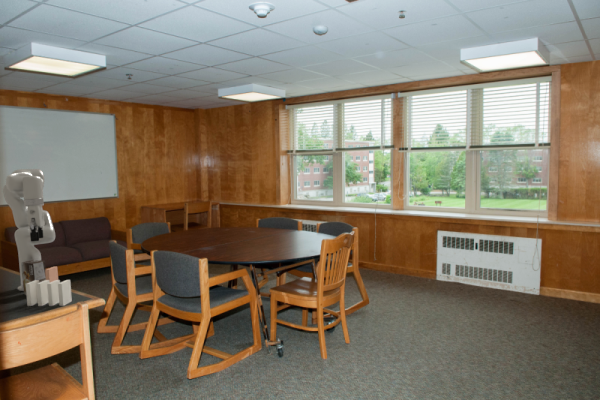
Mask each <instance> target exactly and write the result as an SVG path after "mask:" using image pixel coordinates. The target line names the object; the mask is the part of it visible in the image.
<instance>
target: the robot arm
mask: <svg viewBox="0 0 600 400" xmlns="http://www.w3.org/2000/svg"><path fill="white" fill-rule="evenodd" d="M44 185H45V175H44V172H43V171H42V170H41V169H39V168H19V169H15V170H14V171H12V172H11V174H8V175H7V176H6V178H5V184H4V185H3V187H2V193H3V197H4V200H5V201H6V204H7V205H8V206H9V208H10V209H11V213H12V216H13V220H14V224H15V226H16V227H17V230H15V232H14V240H15V243H16V248H17V253H18V255H17V256H18V263H19V264H18V265H19V274H20V275H19V277H20V285H18V287H17V291H20V292H24V287H23V277H22V266H21V263H22V262H25V261H30V260H41V261H42V255H41V254H42V253H41V251H40V250H39V249H38V247H37V248H36V246H35V245H43V244H49V243H53V242H54V241H55V239H56V232H55V228H54V224H53V221H52V217H51V215H50V213H49V211H47V210H44V209H43V206H44V205H45V203H44V202H45V201H44V191H43V189H44V187H45V186H44ZM22 198H23V199H22Z"/></svg>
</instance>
